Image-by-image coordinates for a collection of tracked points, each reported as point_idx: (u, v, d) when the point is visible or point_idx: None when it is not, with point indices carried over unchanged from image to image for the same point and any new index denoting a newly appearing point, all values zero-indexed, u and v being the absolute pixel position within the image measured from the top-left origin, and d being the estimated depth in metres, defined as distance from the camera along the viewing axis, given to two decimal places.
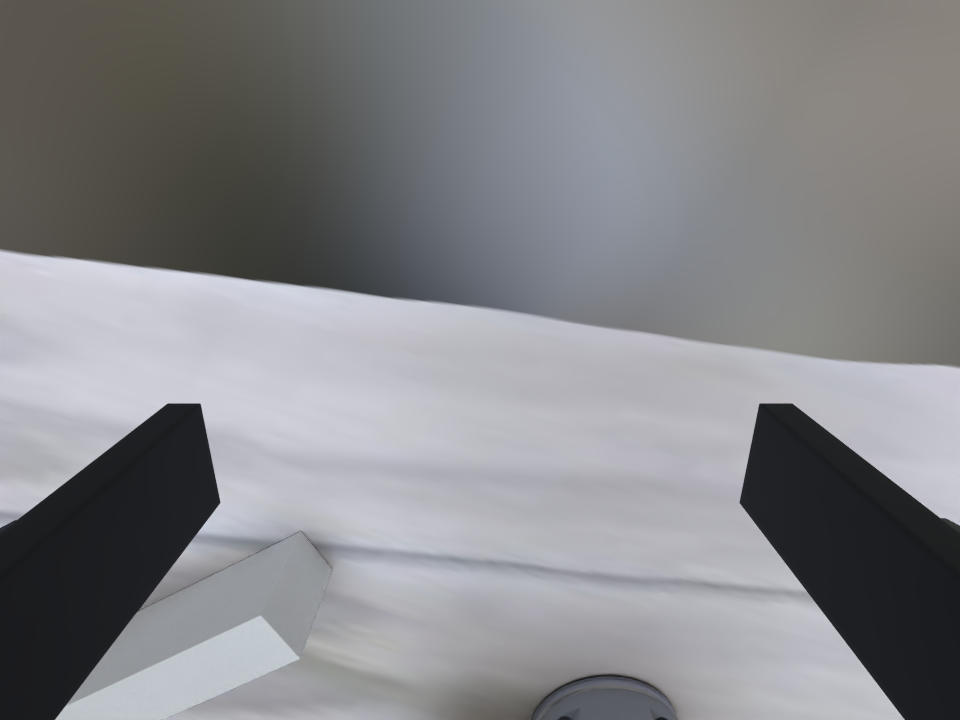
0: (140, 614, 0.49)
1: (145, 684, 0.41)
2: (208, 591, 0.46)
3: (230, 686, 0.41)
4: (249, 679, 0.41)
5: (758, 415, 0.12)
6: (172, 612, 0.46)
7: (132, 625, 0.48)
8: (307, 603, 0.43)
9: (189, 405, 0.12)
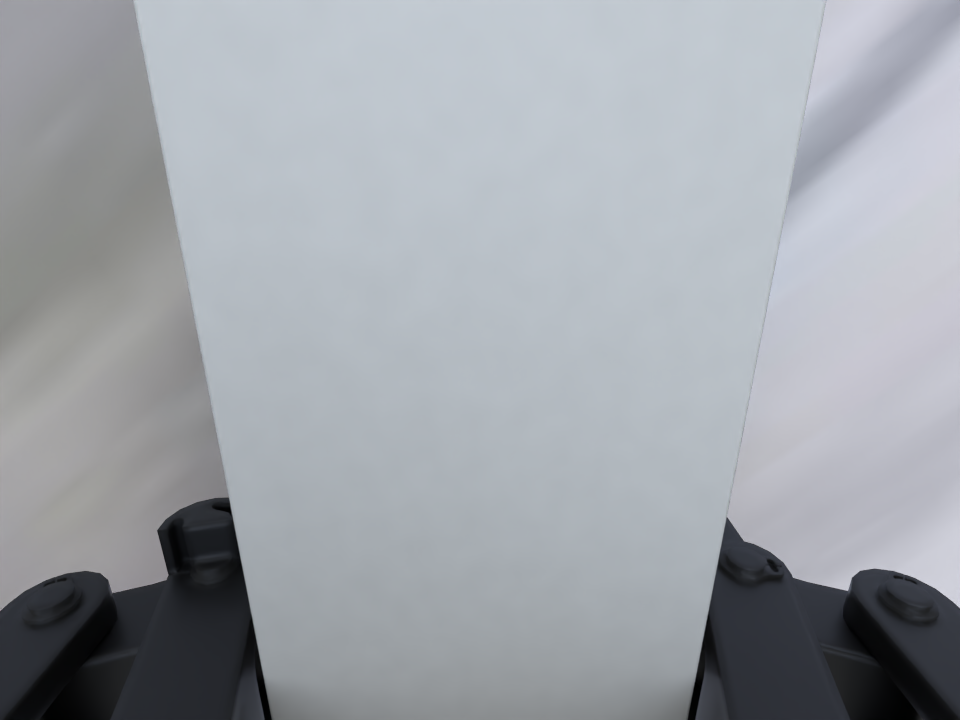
0: None
1: None
2: None
3: (275, 599, 0.06)
4: (285, 717, 0.06)
5: None
6: None
7: None
8: None
9: None
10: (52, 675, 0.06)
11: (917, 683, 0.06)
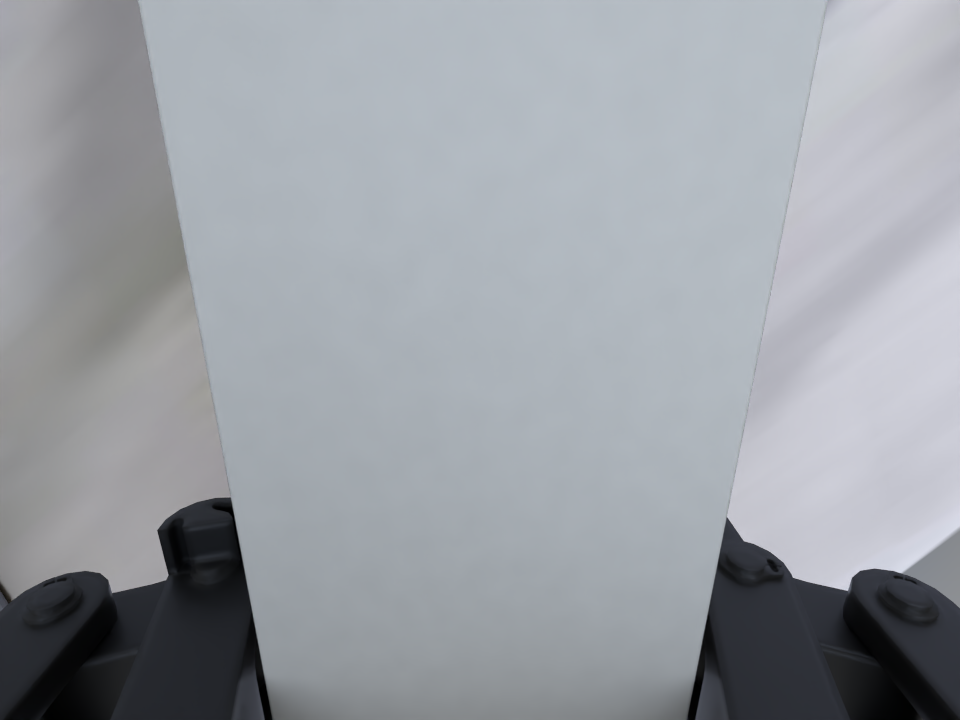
0: None
1: None
2: None
3: (275, 597, 0.06)
4: (285, 715, 0.06)
5: None
6: None
7: None
8: None
9: None
10: (52, 675, 0.06)
11: (917, 683, 0.06)
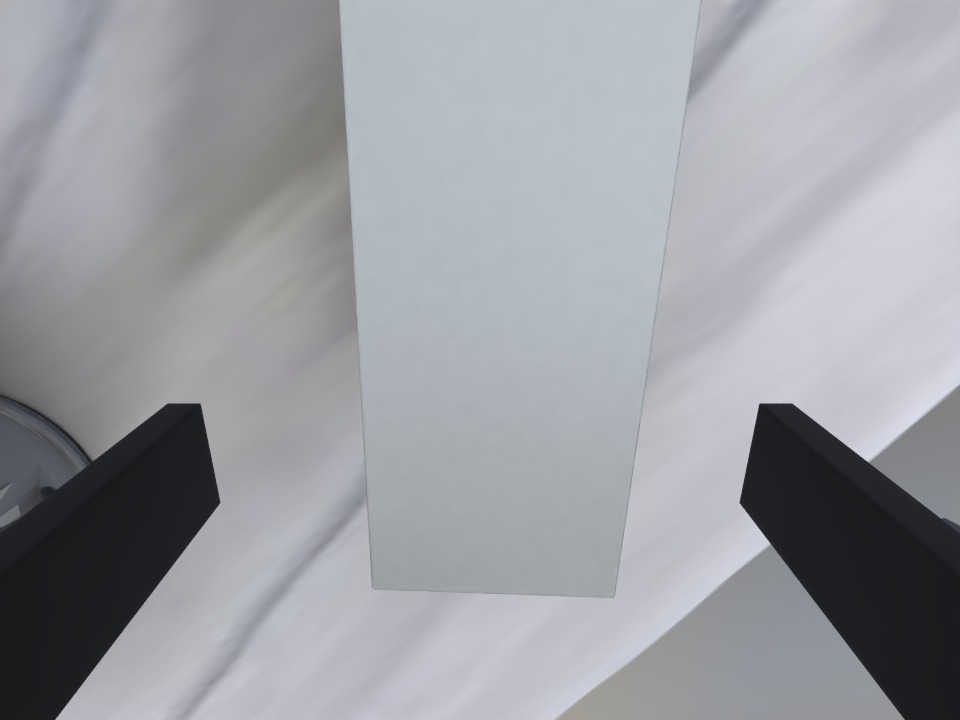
0: None
1: None
2: None
3: (372, 276, 0.08)
4: (370, 377, 0.09)
5: (758, 415, 0.12)
6: None
7: None
8: None
9: (189, 405, 0.12)
10: None
11: None
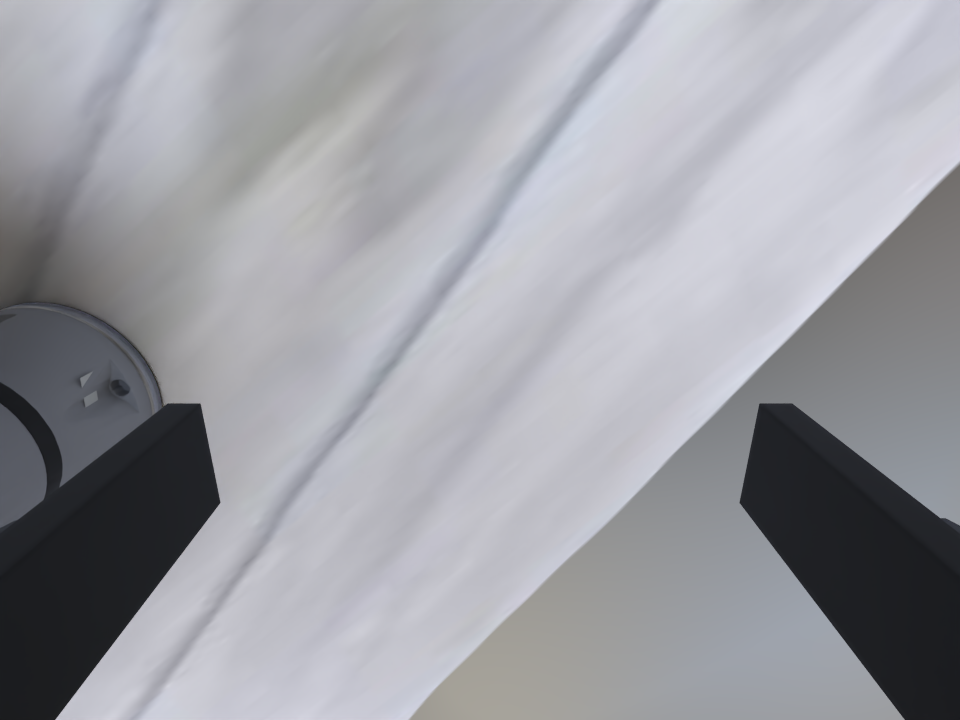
0: None
1: None
2: None
3: None
4: None
5: (758, 415, 0.12)
6: None
7: None
8: None
9: (189, 405, 0.12)
10: None
11: None
